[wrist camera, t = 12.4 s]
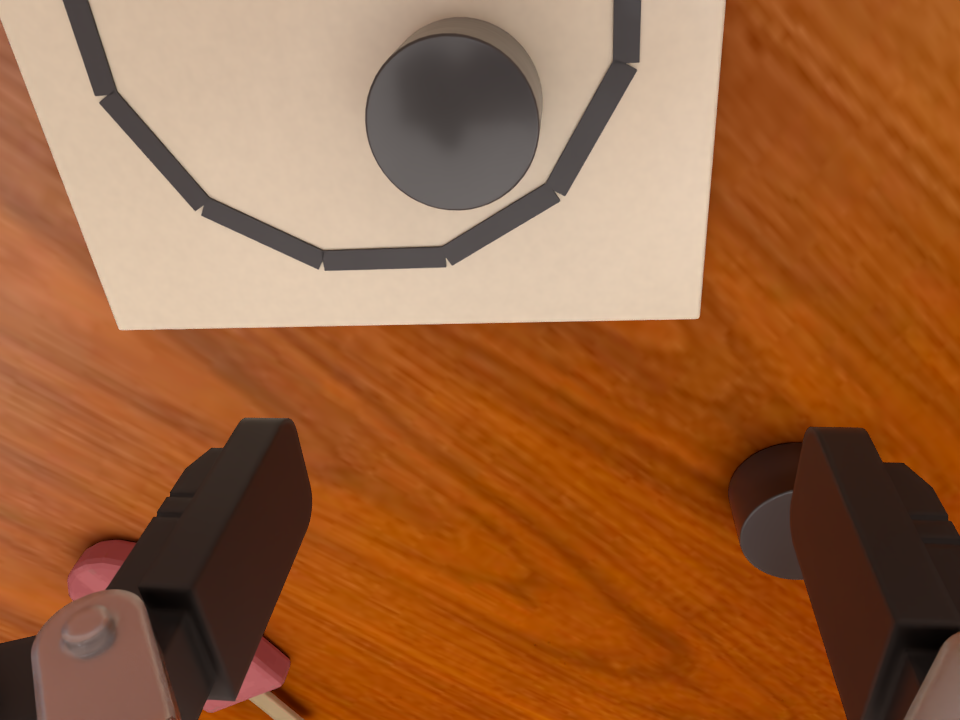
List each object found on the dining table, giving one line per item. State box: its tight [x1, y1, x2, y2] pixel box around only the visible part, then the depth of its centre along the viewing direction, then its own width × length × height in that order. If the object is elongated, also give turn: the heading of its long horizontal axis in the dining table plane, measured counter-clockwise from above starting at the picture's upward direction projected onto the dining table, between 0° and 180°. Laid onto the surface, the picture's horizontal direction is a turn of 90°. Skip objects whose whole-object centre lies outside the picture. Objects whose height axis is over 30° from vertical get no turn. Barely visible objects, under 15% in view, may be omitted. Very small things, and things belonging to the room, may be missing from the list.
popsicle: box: [67, 539, 304, 720], centre depth 37 cm, size 5×2×15 cm
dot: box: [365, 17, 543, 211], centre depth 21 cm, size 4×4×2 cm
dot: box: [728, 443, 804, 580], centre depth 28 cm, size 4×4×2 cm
